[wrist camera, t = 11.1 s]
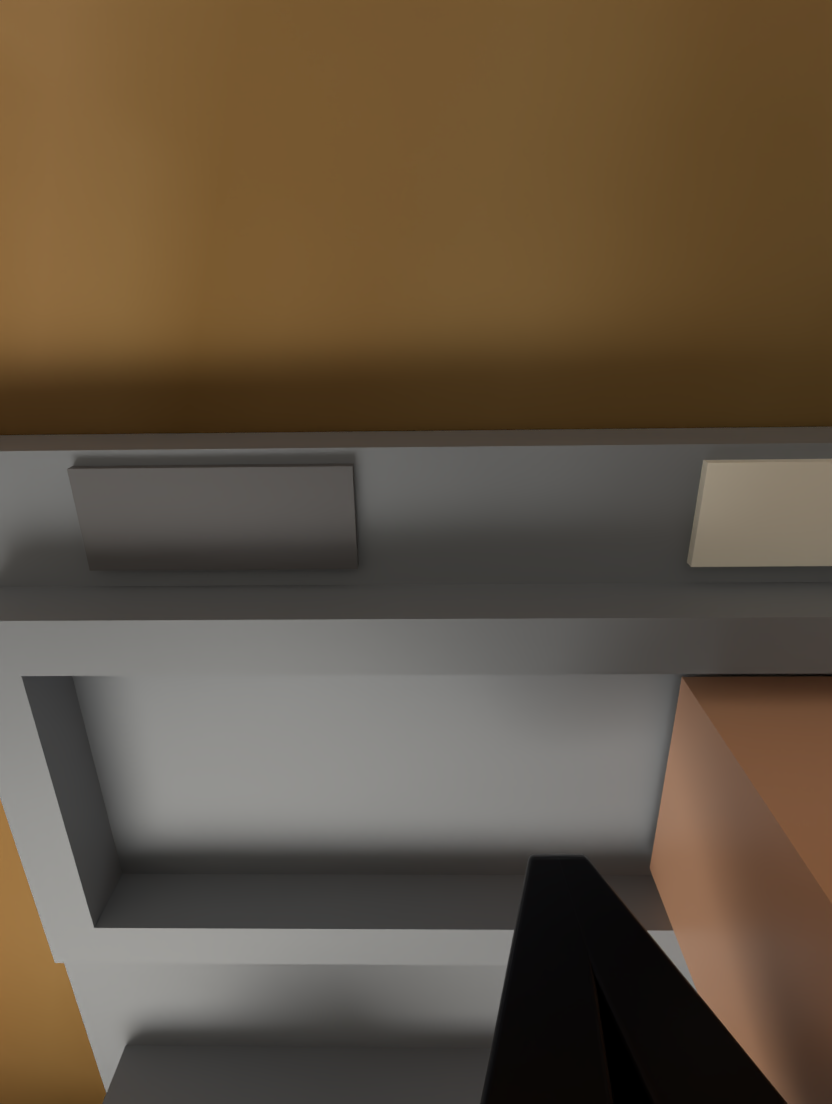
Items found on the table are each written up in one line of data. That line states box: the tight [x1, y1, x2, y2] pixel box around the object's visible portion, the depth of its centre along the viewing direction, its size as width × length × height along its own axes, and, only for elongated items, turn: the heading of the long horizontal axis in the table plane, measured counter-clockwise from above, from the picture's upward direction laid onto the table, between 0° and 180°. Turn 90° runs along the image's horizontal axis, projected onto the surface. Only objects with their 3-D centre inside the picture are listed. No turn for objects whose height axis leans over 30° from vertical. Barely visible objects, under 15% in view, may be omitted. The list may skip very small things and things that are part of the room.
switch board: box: [0, 427, 832, 1104], centre depth 12 cm, size 20×16×2 cm
